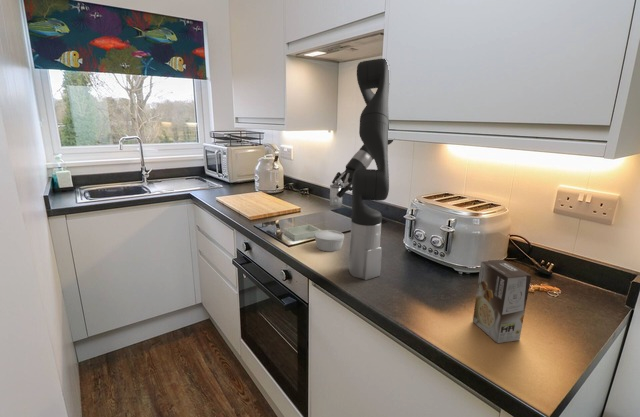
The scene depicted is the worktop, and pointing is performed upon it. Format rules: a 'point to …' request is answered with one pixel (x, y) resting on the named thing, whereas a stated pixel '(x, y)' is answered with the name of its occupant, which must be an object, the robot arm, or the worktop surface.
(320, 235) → the ramekin
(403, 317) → the worktop surface
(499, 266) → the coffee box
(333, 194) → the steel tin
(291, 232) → the tray
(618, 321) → the worktop surface
